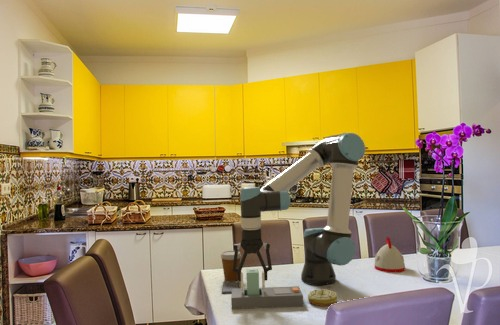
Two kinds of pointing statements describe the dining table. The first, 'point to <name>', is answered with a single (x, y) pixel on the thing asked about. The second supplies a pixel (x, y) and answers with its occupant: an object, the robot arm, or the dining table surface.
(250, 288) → the pale green tall block
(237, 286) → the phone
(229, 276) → the disposable coffee cup
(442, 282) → the dining table surface
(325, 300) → the yellow flat round piece
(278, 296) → the power strip
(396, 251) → the kitchen timer
